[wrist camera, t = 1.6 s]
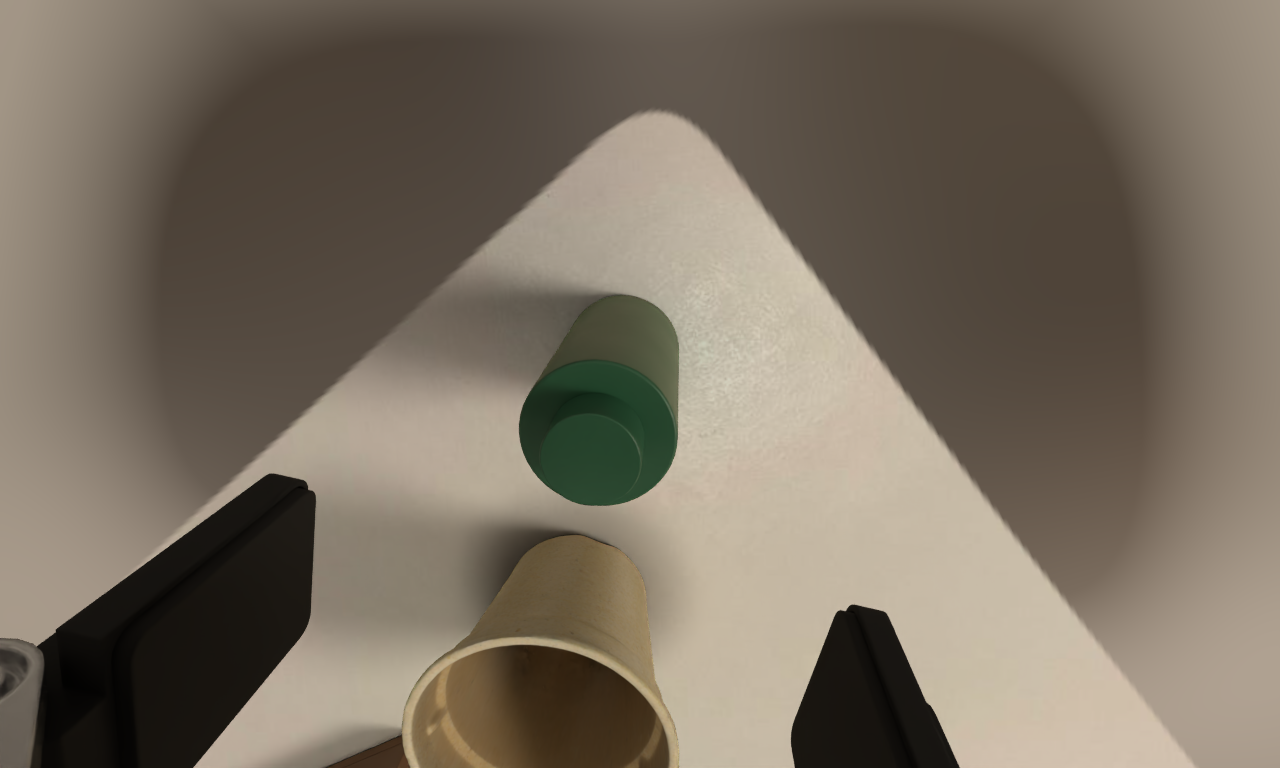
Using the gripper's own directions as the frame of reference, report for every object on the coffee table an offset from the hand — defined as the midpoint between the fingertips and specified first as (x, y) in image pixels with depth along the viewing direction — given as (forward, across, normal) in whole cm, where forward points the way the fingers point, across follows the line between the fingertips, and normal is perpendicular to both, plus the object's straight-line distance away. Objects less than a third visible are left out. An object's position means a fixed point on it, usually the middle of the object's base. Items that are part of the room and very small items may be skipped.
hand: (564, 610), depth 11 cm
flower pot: (+16, 0, +12) cm, 19 cm away
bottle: (+15, 0, 0) cm, 15 cm away
